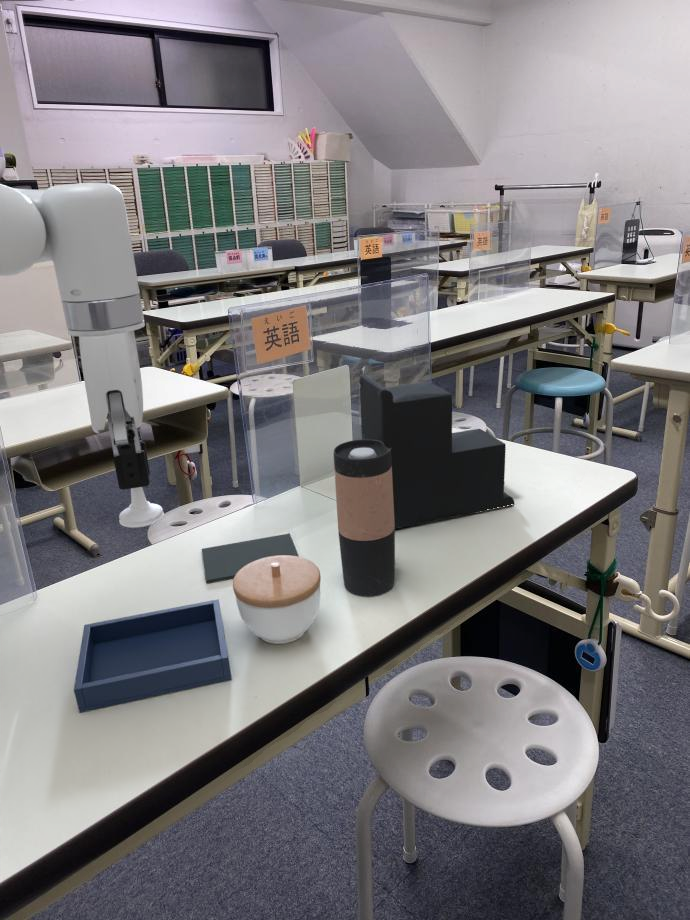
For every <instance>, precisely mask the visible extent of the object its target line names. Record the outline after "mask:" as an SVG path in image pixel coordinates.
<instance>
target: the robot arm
mask: <svg viewBox="0 0 690 920" xmlns="http://www.w3.org/2000/svg"><path fill="white" fill-rule="evenodd" d="M130 231H131V230H130V226H129V220H128V213H127V207H126V202H125V198H124V195H123V193H122V191H121V190H120V189H119V188H118V187H117V186H116V185H114V184H110V183H106V182H87V183H85V182H84V183H82V182H81V183H68V184H67V183H66V184H58V185H57V184H56V185H53V186H50V187H48V188H47V189H29V188H28V189H27V188H14V187H10V186H8V185H5V184H3V183H0V276H1V277H8V276H14V275H15V276H16V275H18V274H21V273H23V272H25V271H27V270H29V269H30V268H32V267H33V266H35V264H39V263H47V262H51V261H52V263H53V267H54V271H55V277H56V281H57V282H56V283H57V287H58V291H59V296H60V300H61V306H62V311H63V315H64V321H65V325H66V328H67V329H66V330H67V334H68V335H69V336H71V337H78V341H79V342H78V343H79V353H80V359H81V360H80V361H81V369H82V374H83V381H84V386H85V392H86V399H87V405H88V411H89V417H90V423H91V430H92V431H93V432H94V433H95V434H101V433H102V431H105V428H106V424H107V426H108V432H109V437H110V441H111V446H112V452H113V454H112V458H113V463H114V469H115V474H116V479H117V484H118V488H119V489H120V490H131V488H138V487H142V488H145V487H148V486H149V485H150V477H149V476H150V474H151V470H150V465H149V458H148V453H147V447H146V442H145V441H143V435H142V434H143V433H142V428H141V425H143V417H144V391H143V381H142V374H141V366H140V359H139V353H138V348H137V341H136V335H135V331H137V330H140V329H142V328H144V327H145V326H146V322H145V317H144V313H143V312H144V311H143V306H142V305H143V303H142V299H141V293H140V287H139V283H138V282H139V281H138V275H137V267H136V262H135V256H134V249H133V244H132V238H131V232H130Z"/></svg>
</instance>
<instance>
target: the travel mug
mask: <svg viewBox="0 0 690 920" xmlns="http://www.w3.org/2000/svg"><path fill="white" fill-rule="evenodd" d="M333 467H334V468H333V469H334V485H335V499H336V500H335V501H336V517H337V518H336V519H337V531H338V542H339V551H340V560H341V561H340V562H341V569H342V579H343V585H344V587H345V589H346V591H348V592H349V593H350V594H353V595H355V596H360V597H377V596H382V595H383V594H386V593H388V592H390V590H392V588H393V587H394V586H395V583H396V581H395V580H396V529H395V522H394V502H393V481H392V461H391V448H390V449H388V448H387V447H386V446H385V445H384V444H383V442H381V441H378V440H369V439H363V440H362V439H354V440H348V441H346V442H343V443H340V444H337V446H335V447H334V449H333Z"/></svg>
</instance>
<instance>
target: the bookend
mask: <svg viewBox="0 0 690 920" xmlns="http://www.w3.org/2000/svg"><path fill="white" fill-rule="evenodd" d="M358 377H359V379H358V382H359V385H360V386H359V401H360V404H359V405H360V426H361V440H363V439H369V440H378V441H381V442H383V444H384V445H385V446H386V447H387V448H388V449H390V448H391V461H392V481H393V502H394V522H395V530H396V529H400V528H405V527H406V528H407V527H410V526H415V525H420V524H421V525H422V524H426V523H431V522H436V521H437V522H438V521H441V520H447V519H451V518H457V517H462V516H468V515H471V513H472V514H477V513H476V512H478V513H481V512H480V511H483V512H486V511H485V510H487V509H493V508H497V507H503V506H507V505H511V504H514V505H515V500H514V498H513V496H511V495H510V494H508V493H507V492H505V475H506V474H505V473H506V449H507V448H506V443H505V442H503V441H501V440H500V439H499V438H496V437H495V436H493V435H491V434H490V433H488V432H486V431H485V430H483V429H481V428H475V429H467V430H463V431H462V430H461V431H455V432H453V394H452V393H450V392H449V391H447V390H445V389H444V388H442V387H440V386H438V385H436V384H435V383H433V382H432V381H420V382H414V383H407V384H401V385H393V386H385V387H384V386H383V385H382V384H380V383H379V382H377V381H376V380H374V379H373V378H371V377H370V376H368V375H366V374H364V373H363V374H362V373H361V374H359V375H358ZM503 508H504V507H503ZM493 510H494V509H493ZM467 514H468V515H467Z"/></svg>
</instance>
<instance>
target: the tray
mask: <svg viewBox="0 0 690 920" xmlns="http://www.w3.org/2000/svg"><path fill="white" fill-rule="evenodd" d="M223 622H224V621H223V616H222V610H221V604H220V599H219V598H216V599H212V600H205V601H202V602H201V601H200V602H196V603H191V604H186V605H181V606H175V607H171V608H164V609H159V610H155V611H148V612H144V613H139V614H134V615H128V616H123V617H118V618H113V619H106V620H102V621H96V622H92V623H88V624H84V625H83V632H82V637H81V643H80V649H79V657H78V663H77V668H76V675H75V679H74V687H73V693H74V696H75V700H76V704H77V708H78V712H79V713H80V714H81V713H84V712H85V713H86V712H89V711H90V712H91V711H93V710H98V709H103V708H107V707H112V706H117V705H121V704H126V703H130V702H135V701H139V700H144V699H150V698H154V697H158V696H159V697H160V696H162V695H168V694H171V693H177V692H182V691H186V690H190V689H194V688H195V689H196V688H199V687H204V686H208V685H213V684H218V683H223V682H227V681H231V680H232V679H233V678H232V671H231V665H230V659H229V651H228V646H227V641H226V635H225V629H224V623H223Z"/></svg>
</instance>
